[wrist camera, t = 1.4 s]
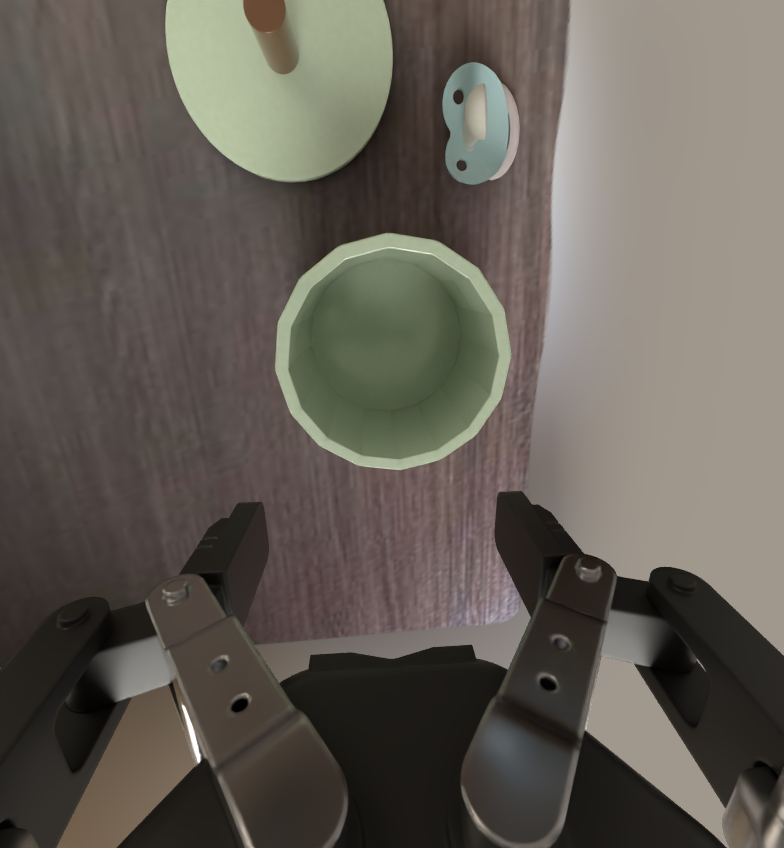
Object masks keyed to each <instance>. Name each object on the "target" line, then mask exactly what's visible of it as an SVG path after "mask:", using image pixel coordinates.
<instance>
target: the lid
mask: <svg viewBox="0 0 784 848" xmlns="http://www.w3.org/2000/svg"><path fill="white" fill-rule="evenodd" d="M165 32H166V44H167V52H168V57H169V63H170V68H171V71H172V74H173V78H174V81H175V84H176V87H177V89H178V92H179V94H180V96H181V99H182V101H183V103H184V105H185V107H186V109H187V111H188V112H189V114H190V116H191V118H192V119H193V121H194V122H195V124H196V125H197V126H198V128H199V129H200V131H201V132H202V133H203V134H204V135H205V137H206V138H207V139H208V140H209V141H210V142H211V144H212V145H214V146H215V147H216V148H217V149H218V150H219V151H220V152H221V153H222V154H223V155H224V156H225V157H227V158H228V159H230V160H231V161H232V162H234V163H235V164H236V165H238V166H240V167H241V168H243V169H245V170H247V171H249V172H250V173H253V174H255V175H258V176H260V177H263V178H266V179H271V180H275V181H281V182H306V181H311V180H316V179H319V178H322V177H325V176H327V175H330V174H332V173H334V172H335V171H337V170H339V169H341V168H342V167H344V166H345V165H346V164H348V163H349V162H350V161H352V160H353V159H354V158H355V157H356V156H357V155H358V154H359V153H360V152H361V151H362V150H363V148H364V147H365V146H366V144H367V143H368V142H369V140H370V139H371V137H372V136H373V134H374V132H375V130H376V129H377V127H378V125H379V123H380V120H381V118H382V116H383V113H384V111H385V107H386V104H387V100H388V97H389V92H390V86H391V80H392V68H393V46H392V36H391V29H390V22H389V19H388V15H387V11H386V7H385V4H384V1H383V0H167V7H166V24H165Z"/></svg>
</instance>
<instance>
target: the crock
mask: <svg viewBox="0 0 784 848" xmlns="http://www.w3.org/2000/svg"><path fill="white" fill-rule="evenodd" d="M510 360H511V348H510V342H509V335H508V329H507V322H506V316H505V310H504V308H503V306H502V304H501V303H500V301H499V299H498V298H497V296H496V295H495V293H494V291H493V290H492V288H491V287H490V285H489V283H488V282H487V280H486V279H485V277H484V275H483V274H482V272H481V271H480V269H478V267H477V266H475V265H474V264H472V263H471V262H469V261H468V260H466V259H465V258H463V257H462V256H460V255H459V254H457V253H456V252H454V251H453V250H451V249H450V248H448V247H447V246H445V245H444V244H442V243H441V242H439V241H437V240H432V239H426V238H420V237H414V236H408V235H402V234H396V233H390V232H389V233H383V234H379V235H376V236H372V237H368V238H365V239H361V240H357V241H354V242H350V243H346V244H343V245H340V246H338V247H336V248H335V249H334V250H333V251H331V252H330V253H329V254H328V255H327V256H325V257H324V258H323V259H322V260H321V261H319V262H318V263H317V264H316V265H315V266H313V267H312V268H311V269H310V270H309V271H307V272H306V273H305V274H304V275H303V276H301V278H300V279H299V280H298V282H297V284H296V286H295V288H294V290H293V292H292V294H291V296H290V298H289V300H288V302H287V304H286V306H285V308H284V310H283V312H282V314H281V316H280V318H279V320H278V323H277V341H276V360H275V372H276V374H277V377H278V380H279V383H280V385H281V388H282V391H283V394H284V397H285V399H286V402H287V405H288V408H289V411H290V413H291V415H292V416H293V417H294V418H295V419H296V420H297V421H298V422H299V424H300V425H301V426H302V427H303V428H304V429H305V430H306V431H307V432H308V434H309V435H310V436H311V437H312V438H313V439H314V440H315V441H316V443H317V444H318V445H319V446H321V447H323V448H325V449H327V450H329V451H331V452H333V453H335V454H337V455H338V456H340V457H342V458H344V459H346V460H348V461H350V462H352V463H354V464H356V465H358V466H366V467H376V468H385V469H395V470H403V469H406V468H410V467H414V466H418V465H422V464H426V463H430V462H434V461H438V460H441V459H442V458H444V457H445V456H447V455H448V454H450V453H451V452H453V451H454V450H455V449H457V448H458V447H460V446H461V445H463V444H464V443H465V442H467V441H468V440H470V439H471V438H473V437H474V436H475V435H476V434H477V433H478V432H479V430H480V429H481V427H482V426H483V424H484V423H485V421H486V420H487V419H488V417H489V416H490V414H491V413H492V411H493V410H494V408H495V407H496V405H497V404H498V403H499V401H500V399H501V398H502V394H503V389H504V385H505V381H506V377H507V372H508V368H509V364H510Z"/></svg>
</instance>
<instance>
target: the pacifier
mask: <svg viewBox="0 0 784 848" xmlns="http://www.w3.org/2000/svg"><path fill="white" fill-rule="evenodd" d="M456 90H461V91H462V93H463V95H464V99H463V102H462V103H461V104H456V103H455V102H454V100H453V94H454V92H455V91H456ZM442 107H443V115H444V119H445V122H446V125H447V127H448V129H449V130H450V134H451V136H450V139H449V141H448V143H447V147H446V152H445V163H446V166H447V169H448V171H449V173H450V174H451V176H452V177H453V178H454V179H456V180H457V181H459V182H461V183H464V184H470V185H474V184H479V183H482V182H485V181H487V180H494V179H497V178H500V177H501V176H502V175H503V174H505V173H506V172H507V170H508V169H509V167H510V166H511V164H512V162H513V160H514V157H515V155H516V152H517V147H518V142H519V130H520V126H519V115H518V111H517V106H516V103H515V100H514V98H513V96H512V94H511V92H510V91H509V90H508V88H507V87H506V86H505V85H504V84H502V83H501V82H500V80H499V79H498V77H497V75H496V74H495V73H494V72H493V71H492V70H491V69H489V68H488V67H487V66H485V65H483V64H480V63H476V62H474V63H467V64H464V65H462V66H461V67H459V68H458V69H457V70H456V71H455V72H454V73H453V74H452V75H451V77H450V78H449V80H448V82H447V84H446V87H445V90H444V94H443V102H442ZM460 160H462V161H464V162H465V163H466V166H467V168H466V170H465V171H460V170H458V168H457V166H456V164H457V162H458V161H460Z"/></svg>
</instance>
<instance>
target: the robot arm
mask: <svg viewBox="0 0 784 848" xmlns="http://www.w3.org/2000/svg"><path fill="white" fill-rule="evenodd" d="M495 542H496V546H497V549H498V552H499V554H500V556H501V558H502V560H503V562H504V564H505V566H506V568H507V570H508V572H509V574H510V576H511V578H512V580H513V582H514V584H515V586H516V588H517V590H518V592H519V594H520V596H521V598H522V600H523V602H524V604H525V606H526V608H527V610H528V612H529V614H530V616H531V619H530V621H529V623H528V626H527V628H526V630H525V633H524V635H523V637H522V639H521V642H520V644H519V647H518V649H517V651H516V653H515V655H514V658H513V660H512V662H511V664H510V667H509V669H508V670H507V669H505V668H503V667H501V666H499V665H497V664H494V663H491V662H488V661H485V660H481V659H476V657H475V653H474V650H473V646H472V645H462V646H446V647H432V648H430V649H426V650H422V651H419V652H416V653H413V654H410V655H406V656H403V657H399V658H396V659H386V658H380V657H375V656H369V655H363V654H357V653H335V654H320V655H311V656H310V663H309V669H308V670H305V671H302V672H299V673H297V674H295V675H292V676H291V677H289V678H287V679H285V680H283V681H282V682H281V683H279V682H278V681H277V679H276V678H275V676H274V675H273V673H272V672H271V670H270V668H269V667H268V665H267V664H266V662H265V661H264V660H263V658H262V656H261V655H260V653H259V651H258V650H257V648H256V647H255V645H254V644H253V642H252V641H251V639H250V638H249V636H248V634H247V633H246V631H245V630H244V628H243V627H244V624H245V621H246V618H247V615H248V613H249V610H250V607H251V604H252V602H253V599H254V596H255V593H256V590H257V588H258V585H259V582H260V579H261V576H262V574H263V571H264V568H265V565H266V562H267V559H268V553H269V541H268V534H267V526H266V519H265V512H264V506H263V503H262V502H247V503H238V504H237V505H236V507H235V509H234V510H233V512H232V514H231V516H230V517H229V518H221V519H220V520H219V521H217V522H216V523H215V524H213V525H212V526H211V527H210V528H209V529H208V530H207V532H206V534H205V535H204V537H203V540H201V541H200V543H199V544H198V546H197V549H195V551H194V552H193V554H192V555H191V557H190V558H189V560H188V561H187V563H186V565H185V566H184V568H183V569H182V571H181V572H180V574H179V575H177V576H174V577H171V578H169V579H167V580H164V581H163V582H161V583H159V584H158V585H157V586H155V587H154V588H153V589H152V590H151V591H150V592H149V594H148V595H147V597H146V601H145V602H142V603H139V604H135V605H131V606H128V607H124V608H120V609H116V610H113V611H111V610H110V607H109V604H108V602H107V600H105V599H104V598H100V597H89V598H83V599H79V600H76V601H73V602H71V603H69V604H66V605H64V606H62V607H61V608H59V609H57V610H56V611H54V612H53V613H51V614H50V615H49V616H48V617H47V618H46V619H45V620H44V621H43V622H42V623H41V624H40V625H39V626H38V627H37V628H36V630H35V631H34V632H33V633H32V634H31V635H30V636H29V637H28V639H27V640H26V641H25V642H24V643H23V644H22V645H21V647H20V648H19V649H18V650H17V651H16V652H15V653H14V654H13V656H12V657H11V658H10V659H9V660H8V661H7V662H6V664H5V665H4V666H3V667H2V668H1V669H0V848H56V847H57V845H58V843H59V841H60V839H61V837H62V835H63V833H64V831H65V829H66V827H67V825H68V823H69V821H70V819H71V817H72V815H73V813H74V811H75V809H76V807H77V805H78V803H79V801H80V799H81V797H82V795H83V793H84V791H85V789H86V787H87V785H88V783H89V781H90V779H91V777H92V775H93V773H94V771H95V769H96V767H97V765H98V763H99V762H100V760H101V758H102V755H103V754H104V751H105V750H106V748H107V746H108V744H109V742H110V740H111V738H112V736H113V734H114V731H115V730H116V728H117V726H118V724H119V722H120V720H121V718H122V716H123V714H124V712H125V710H126V708H127V706H128V704H129V702H130V700H131V698H132V696H135V695H138V694H141V693H144V692H147V691H150V690H153V689H156V688H159V687H162V686H165V685H167V686H168V689H169V691H170V694H171V697H172V700H173V703H174V705H175V708H176V711H177V713H178V717H179V719H180V722H181V725H182V728H183V730H184V733H185V736H186V739H187V741H188V744H189V748H190V751H191V754H192V757H193V761H194V764H195V767H194V768H193V769H192V770H191V771H190V772H189V773H188V774H187V775H186V776H185V777H184V778H183V779H182V780H181V781H180V783H179V784H178V785H177V786H176V787H175V788H174V789H173V790H172V791H171V792H170V793H169V794H168V795H167V796H166V797H165V798H164V799H163V800H162V801H161V802H160V803H159V804H158V805H157V806H156V807H155V808H154V809H153V810H152V812H151V813H150V814H149V815H148V816H147V817H146V818H145V819H144V820H143V821H142V822H141V823H140V824H139V825H138V826H137V827H136V828H135V829H134V830H133V831H132V832H131V833H130V834H129V835H128V836H127V837H126V838H125V840H124V841H123V842H122V843H121V844H120V845H119V846H118V847H117V848H726V847H725V846H724V845H723V844H722V843H721V842H720V841H719V840H718V839H717V838H716V837H715V836H714V835H713V834H712V833H711V832H710V831H708V830H707V829H706V828H705V827H704V826H703V825H702V824H700V823H699V822H698V821H697V820H695V819H694V818H693V817H692V816H691V815H689V814H688V813H687V812H686V811H684V810H683V809H682V808H681V807H679V806H678V805H677V804H675V803H674V802H673V801H672V800H671V799H670V798H668V797H667V796H666V795H665V794H663V793H662V792H661V791H660V790H658V789H657V788H656V787H655V786H653V785H652V784H651V783H650V782H649V781H647V780H646V779H645V778H644V777H642V776H641V775H640V774H639V773H637V772H636V771H635V770H634V769H632V768H631V767H630V766H629V765H628V764H626V763H625V762H624V761H623V760H621V759H620V758H619V757H618V756H617V755H615V754H614V753H613V752H612V751H610V750H609V749H608V748H607V747H605V746H604V745H603V744H601V743H600V742H599V741H598V740H597V739H596V738H594V737H593V736H592V735H590V734H589V733H588V732H587V731H586V727H587V722H588V717H589V712H590V708H591V703H592V698H593V693H594V689H595V684H596V679H597V674H598V670H599V665H600V660H601V657H606V658H611V659H616V660H620V661H625V662H629V663H634V665H635V666H636V668H637V670H638V671H639V673H640V674H641V676H642V678H643V679H644V681H645V682H646V684H647V685H648V687H649V689H650V690H651V692H652V693H653V695H654V696H655V698H656V700H657V701H658V703H659V704H660V706H661V707H662V709H663V711H664V712H665V714H666V715H667V717H668V719H669V720H670V722H671V723H672V725H673V726H674V728H675V730H676V731H677V733H678V734H679V736H680V737H681V739H682V740H683V742H684V744H685V745H686V747H687V749H688V750H689V752H690V753H691V755H692V756H693V758H694V759H695V761H696V763H697V764H698V766H699V767H700V769H701V770H702V772H703V774H704V775H705V777H706V778H707V780H708V782H709V783H710V785H711V786H712V788H713V790H714V791H715V793H716V794H717V796H718V797H719V799H720V801H721V802H722V804H723V805H724V807H725V808H726V810H725V813H724V815H723V819H722V826H723V832H724V835H725V838H726V841H727V843H728V845H729V847H730V848H784V656H783V655H782V654H781V653H780V652H779V651H778V650H777V649H776V648H775V647H774V646H773V645H772V644H771V643H770V642H769V641H767V639H766V638H764V637H763V636H762V635H761V634H760V633H759V632H758V631H757V630H756V629H755V628H754V627H753V626H752V625H751V624H750V623H749V622H748V621H747V620H745V619H744V618H743V617H742V616H741V615H740V614H739V613H738V612H737V611H736V610H735V609H734V608H733V607H732V606H731V605H730V604H729V603H728V602H727V601H726V600H725V599H723V598H722V597H721V596H720V595H719V594H718V593H717V592H716V591H715V590H714V589H713V588H712V587H711V586H710V585H709V584H708V583H706V582H705V581H704V580H702V579H701V578H699V577H698V576H696V575H694V574H692V573H690V572H687V571H684V570H681V569H677V568H672V567H659V568H656V569H654V570H653V571H652V572H651V574H650V578H649V582H648V581H642V580H636V579H629V578H623V577H619V576H617V575H616V572H615V570H614V569H613V568H612V567H611V566H610V565H609V564H608V563H606V562H605V561H603V560H601V559H599V558H597V557H594V556H591V555H587V554H584V553H583V552H582V551H581V549H580V548H579V547H578V546H577V544H576V543H575V542H574V541H573V539H572V538H571V537H570V536H569V535H568V533H567V532H566V531H564V528H563V527H562V526H561V525H560V524H558V521H557V520H556V518H555V517H554V516H553V515H552V513H551V512H549V511H548V510H546V509H544V508H543V507H541V506H540V505H532V504H531V503H530V501H529V500H528V499H527V497H526V496H525V495H524V493H523V492H522V491H510V492H499V493H498V497H497V507H496V520H495ZM696 659H698V660H699V661H700V663H701V664H702V665H703V667H704V669H705V670H706V671H705V670H704V669H703V668H702V667H701V665H700V664H699V663H698V662H697V660H696ZM706 672H707V673H706Z"/></svg>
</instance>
